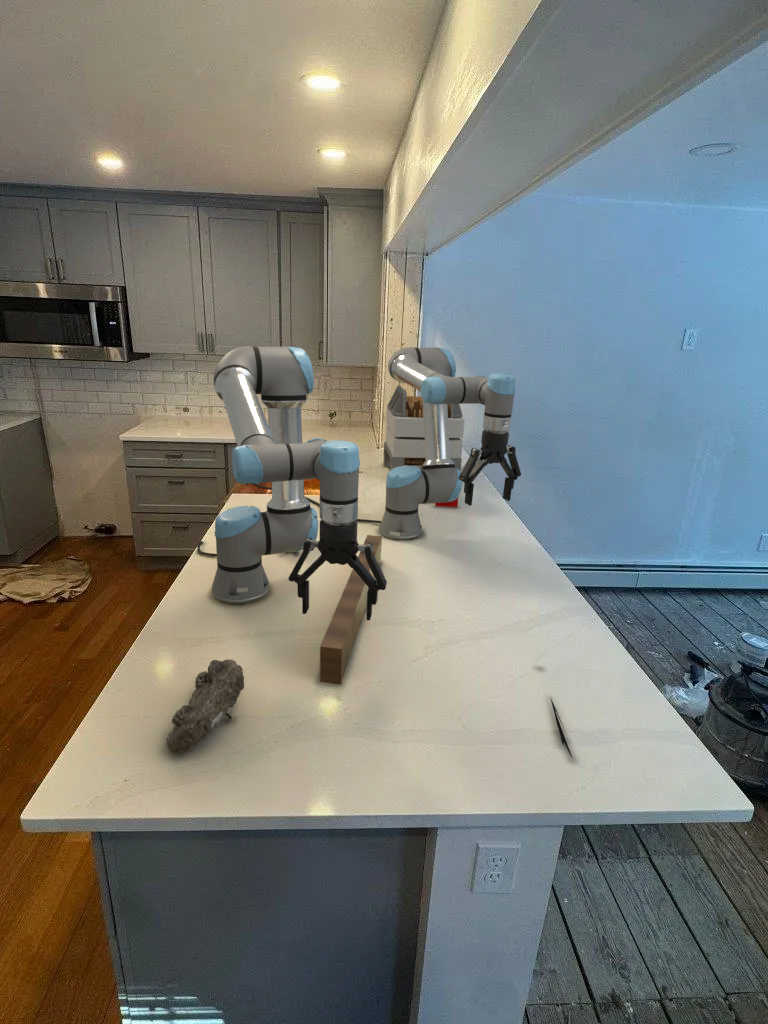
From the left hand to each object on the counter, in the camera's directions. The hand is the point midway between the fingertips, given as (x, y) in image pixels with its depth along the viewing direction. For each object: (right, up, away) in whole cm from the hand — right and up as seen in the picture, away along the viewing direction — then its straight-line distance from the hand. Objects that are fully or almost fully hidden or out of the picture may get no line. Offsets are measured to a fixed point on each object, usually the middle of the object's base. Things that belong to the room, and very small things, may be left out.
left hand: (337, 614), depth 120 cm
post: (+3, -4, +29) cm, 29 cm away
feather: (+44, -18, -5) cm, 48 cm away
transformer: (+27, +40, +155) cm, 163 cm away
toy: (+35, +28, +122) cm, 130 cm away
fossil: (-23, -18, -12) cm, 31 cm away
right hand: (+40, +25, +47) cm, 67 cm away
